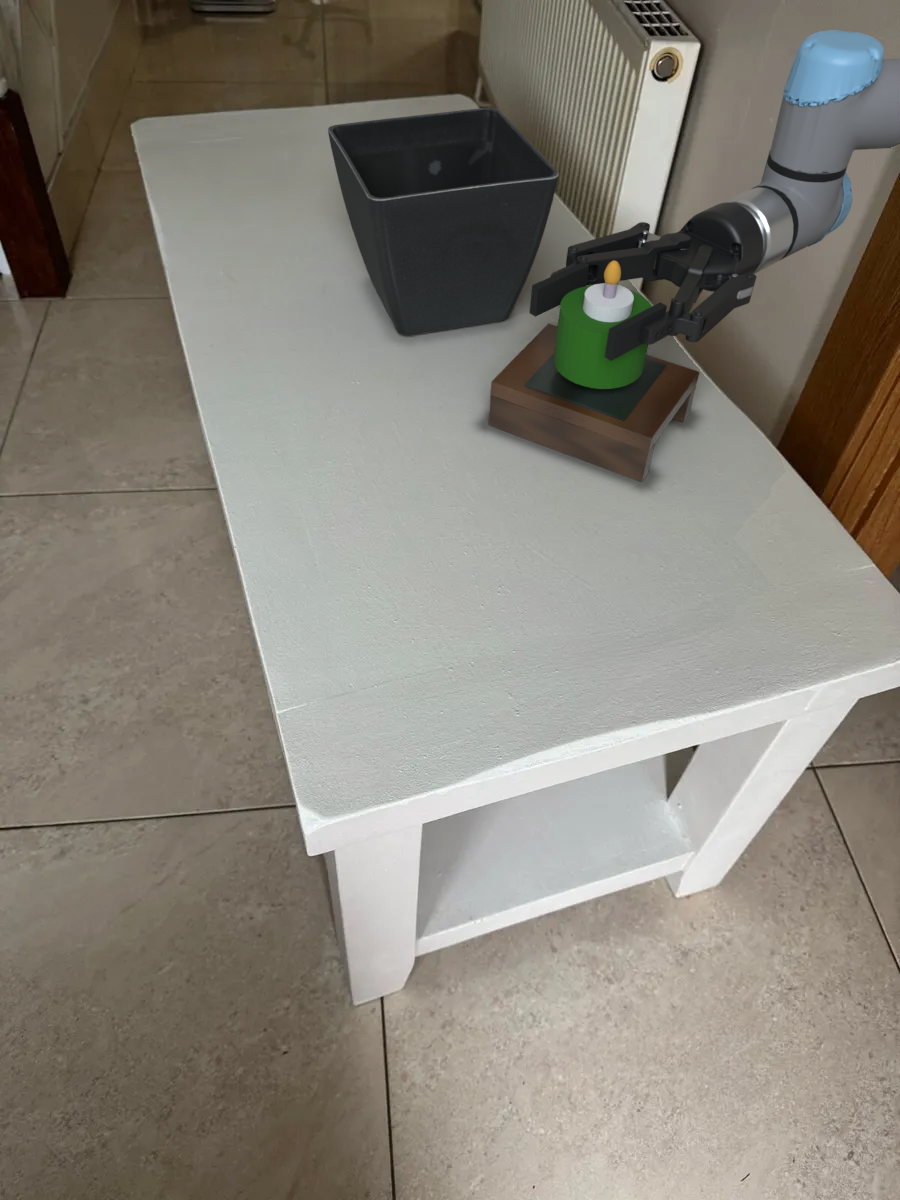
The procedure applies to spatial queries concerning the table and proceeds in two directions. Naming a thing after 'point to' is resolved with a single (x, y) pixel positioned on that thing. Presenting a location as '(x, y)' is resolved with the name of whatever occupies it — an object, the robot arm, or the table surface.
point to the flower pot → (444, 213)
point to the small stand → (590, 408)
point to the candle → (598, 333)
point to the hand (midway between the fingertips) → (571, 322)
